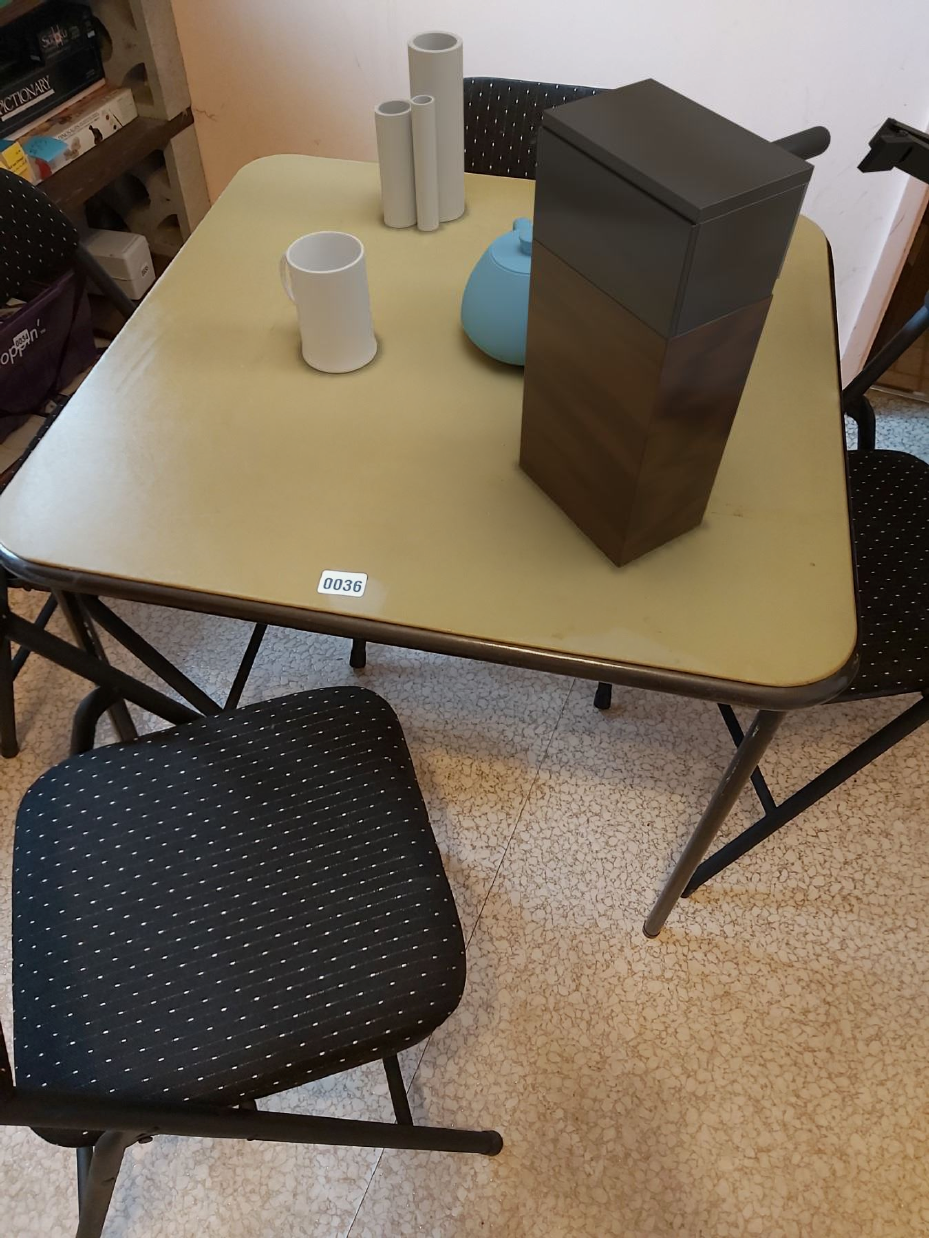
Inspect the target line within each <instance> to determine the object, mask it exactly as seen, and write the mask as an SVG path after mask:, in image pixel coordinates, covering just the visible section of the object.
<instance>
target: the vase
mask: <svg viewBox="0 0 929 1238" xmlns="http://www.w3.org/2000/svg"><path fill="white" fill-rule="evenodd" d="M463 42H464V41H463V38H462V37H461V36H460V35H458V34H456V33H453V32H449V31H446V30H426V31H421V32H417V33H415V34H412V35H411V36H410V37H409V38H408V39H407V57H408V59H407V61H408V76H409V77H408V78H409V95H410V100H408V99H403V98H394V99H393V98H391V99H387V100H384V101H381V102H379V103H377V104H375V106H374V108H373V110H374V111H373V112H374V121H375V123H374V124H375V135H376V145H377V156H378V167H379V177H380V178H379V179H380V188H381V189H380V190H381V201H382V210H383V222H384V224H385V225H386V226H387V227H390V228H394V229H402V228H403V229H404V228H408V227H411V226H414V225H415V224H417V229H418V230H419V231H422V232H433V231H435V230H437V229H438V228H439V226H440V223H444V222H446V223H447V222H451V221H455V220H457V219H459V218H461V217H462V215H463V214H464V213H465V207H466V206H465V129H464V127H465V123H464V122H465V121H464V119H465V118H464V43H463Z"/></svg>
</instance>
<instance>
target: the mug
mask: <svg viewBox="0 0 929 1238" xmlns="http://www.w3.org/2000/svg"><path fill="white" fill-rule="evenodd" d="M278 265H279V266H278V272H279V277H280V282H281V284H282V287H283V289H284V291H285V293H286V295H287V297H288V298H289V300H290V302H292V304H293V306H294V307H295V310H296V316H297V321H298V325H299V331H300V336H301V337H300V338H301V342H302V347H301V351H302V352H301V354H302V357H303V359H304V361H305V362H306V363H307V365H309V366H310V367H312V368H313V369H315V370H317V371H321V372H324V373H330V374H342V373H343V374H344V373H349V372H353V371H356V370H358V369H361V368H363V367H364V366H366V365H368V364H369V363H370V362H371V361H372V360H373V359H374V358H375V356H376V355H377V354H376V353H377V352H378V342H377V339H376V337H375V331H374V324H373V316H372V306H371V298H370V288H369V281H368V272H367V263H366V254H365V247H364V245H363V242H362V241H361V240H360V239H359V238H357V237H356V236H354V235H352V234H350V233H346V232H342V231H336V230H335V231H334V230H324V231H315V232H312V233H309V234H305V235H303V236H300V237H299V238H297V239H295V240H294V241H293V242H291V244H290V245H289V246H288V247H287V249H286V250H285V251H284V252H283V254H282V255H281V256H280V259H279V264H278ZM286 265H287V270H288V274H289V279H290V282H289V279H288V276H287V270H286Z"/></svg>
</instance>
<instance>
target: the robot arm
mask: <svg viewBox="0 0 929 1238" xmlns="http://www.w3.org/2000/svg"><path fill="white" fill-rule="evenodd" d="M867 144H868V146H869V148H870V149H869V151H867V154H866V155H865V156H864V157H863V159H861V161H860V162H859V164H858V165H857V166H856V169H858V170H859V171H860V173H862V174H867V173H868V174H869V173H880V172H890V171H892V170H893V169H894V168H896V169H898V170H899V171H901V172H903V173H906V174H907V175H909V176H911V177H913V178H915V179H917V180H919V181H921V182H923V183H925V184H927V185H928V186H929V133H926V132H925V131H922V130H920V129H917V128H915V127H912V126H910V125H908V124H906V123H904V122H901V121H899V120H897V119H896V118H893V117H887V118H886V119H885V121H884V122H883V123H882V125H881V126H880V127H879V129H878V130H877V131H876V132H875V134H874V135H873V136H872V138H871V139H870V141H868V143H867Z"/></svg>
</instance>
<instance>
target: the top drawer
mask: <svg viewBox="0 0 929 1238" xmlns="http://www.w3.org/2000/svg"><path fill="white" fill-rule="evenodd" d="M831 140H832V136H831V132H830V131H829V129H828V128H827V127H825V126H823V125H816V126H812V127H810V128H807V129H804V130H801V131H798V132H796V133H793V134H790V135H787V136H783V137H781V138H779V139H776V140H773V141H770V142H771V143H773V144H775V145H777V146H779V147H781V148H783V149H784V150H786V151H788V152H790V153H792V154H794V155H796V156H798V157H799V158H801V159H803V160H805V161H807V160H810V159H813V158H816V157H818V156H821V155H822V154H824V153H825V152H826V151H827V150H828V148H829V147H830V144H831ZM810 182H811V180H810V181H809V182H807V183H806V186H805V190H804V193H803V196H802V199H801V202H800V205H799V209H798V212H797V215H796V218H795V221H794V224H793V228H792V231H791V234H790V237H789V240H788V243H787V247H786V250H785V253H784V256H783V259H782V263H781V266H780V269H779V272H778V275H777V278H776V280H778V279H780V276H781V273H782V270H783V267H784V263H785V261H786V258H787V255H788V251H789V248H790V245H791V242H792V239H793V236H794V232H795V229H796V226H797V223H798V219H799V217H800V213H801V211H802V207H803V204H804V201H805V197H806V194H807V191H808V189H809V185H810Z"/></svg>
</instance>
